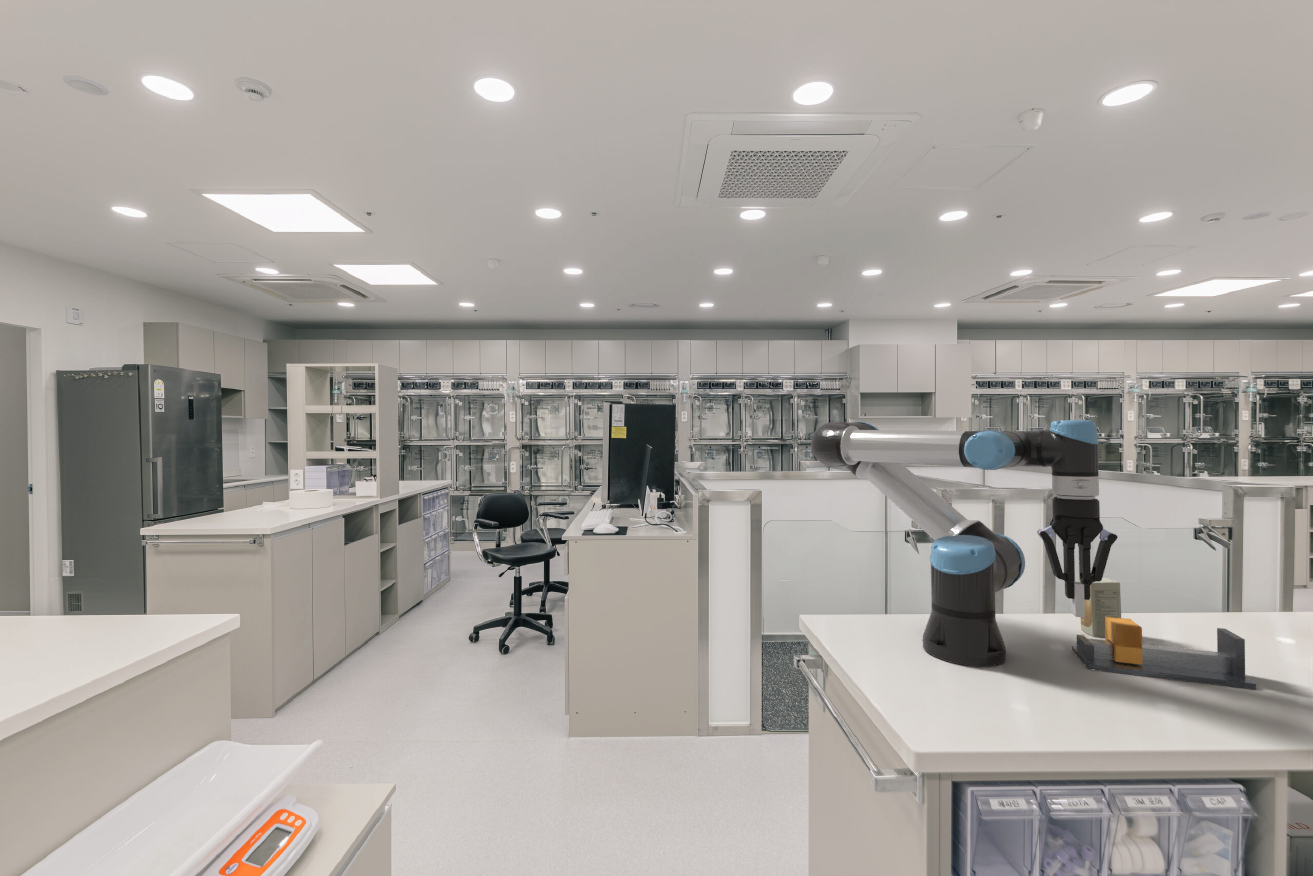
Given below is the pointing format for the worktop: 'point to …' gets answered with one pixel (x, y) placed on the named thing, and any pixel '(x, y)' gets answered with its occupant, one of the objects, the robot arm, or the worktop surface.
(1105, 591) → the skincare box
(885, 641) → the worktop surface
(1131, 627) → the orange slider block
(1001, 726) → the worktop surface
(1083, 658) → the rail
